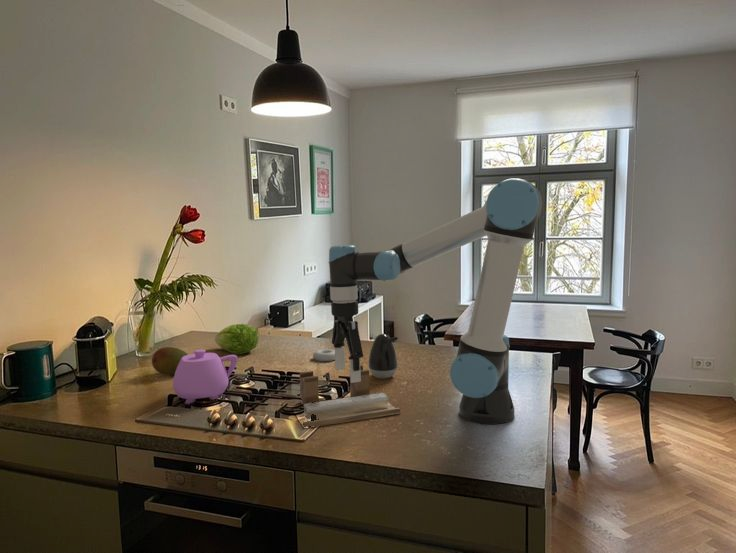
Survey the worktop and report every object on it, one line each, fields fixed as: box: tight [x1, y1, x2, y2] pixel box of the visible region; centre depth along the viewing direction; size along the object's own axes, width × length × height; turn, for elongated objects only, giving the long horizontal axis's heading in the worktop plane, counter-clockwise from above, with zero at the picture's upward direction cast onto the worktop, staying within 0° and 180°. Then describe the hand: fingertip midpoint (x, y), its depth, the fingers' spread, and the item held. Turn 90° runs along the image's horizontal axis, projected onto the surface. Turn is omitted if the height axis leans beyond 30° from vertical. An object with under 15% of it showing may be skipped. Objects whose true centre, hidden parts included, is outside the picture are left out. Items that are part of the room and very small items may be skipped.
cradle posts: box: [299, 364, 370, 404], centre depth 159 cm, size 6×20×9 cm, turn 111°
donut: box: [312, 348, 335, 363], centre depth 208 cm, size 10×4×10 cm
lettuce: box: [214, 323, 259, 355], centre depth 221 cm, size 13×22×14 cm
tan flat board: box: [301, 401, 401, 427], centre depth 149 cm, size 12×28×1 cm, turn 111°
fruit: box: [151, 346, 189, 375], centre depth 190 cm, size 12×13×10 cm
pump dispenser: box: [368, 333, 399, 380], centre depth 183 cm, size 10×10×15 cm
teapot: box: [172, 348, 239, 405], centre depth 167 cm, size 20×20×15 cm
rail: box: [303, 392, 389, 419], centre depth 149 cm, size 4×24×4 cm, turn 111°
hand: (347, 375), depth 148 cm, fingers open, 13 cm apart
